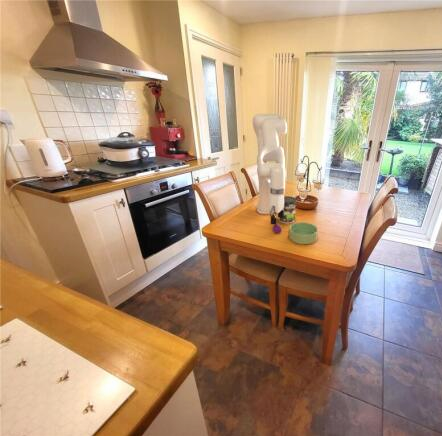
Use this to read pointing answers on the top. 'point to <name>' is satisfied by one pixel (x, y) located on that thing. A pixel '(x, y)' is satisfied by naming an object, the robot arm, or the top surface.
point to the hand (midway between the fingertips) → (277, 220)
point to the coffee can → (289, 210)
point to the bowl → (303, 233)
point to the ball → (276, 229)
